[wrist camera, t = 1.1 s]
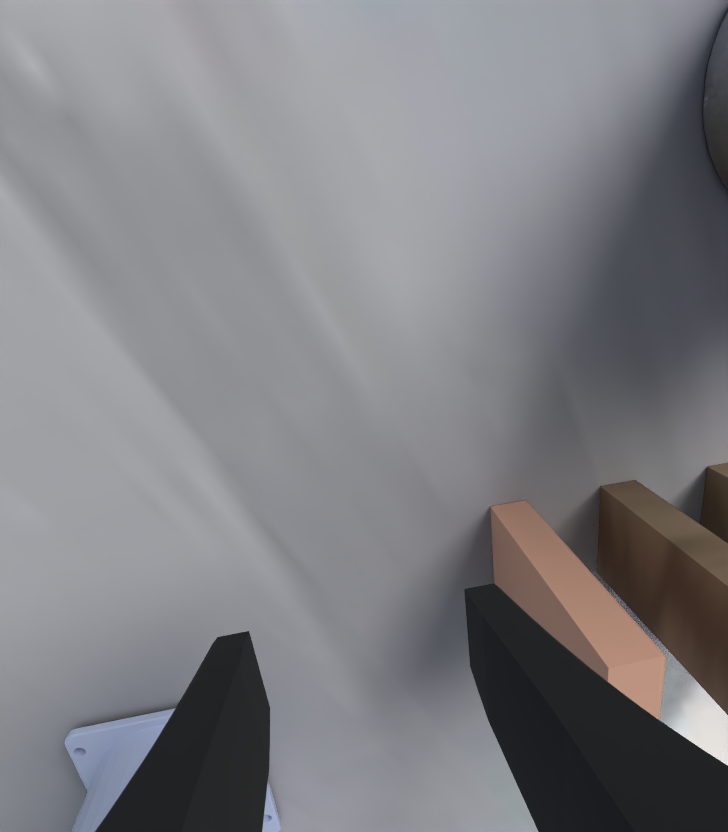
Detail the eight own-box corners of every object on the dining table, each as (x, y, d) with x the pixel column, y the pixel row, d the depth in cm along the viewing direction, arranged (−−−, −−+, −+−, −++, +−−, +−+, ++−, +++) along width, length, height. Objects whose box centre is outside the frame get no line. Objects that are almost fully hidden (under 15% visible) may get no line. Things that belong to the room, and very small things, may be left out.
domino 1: (527, 586, 22) (653, 774, 14) (494, 592, 22) (602, 785, 14) (526, 500, 21) (666, 656, 13) (490, 506, 20) (608, 668, 12)
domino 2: (629, 566, 22) (808, 738, 14) (597, 572, 22) (759, 749, 14) (635, 480, 21) (838, 619, 13) (600, 486, 21) (784, 631, 13)
